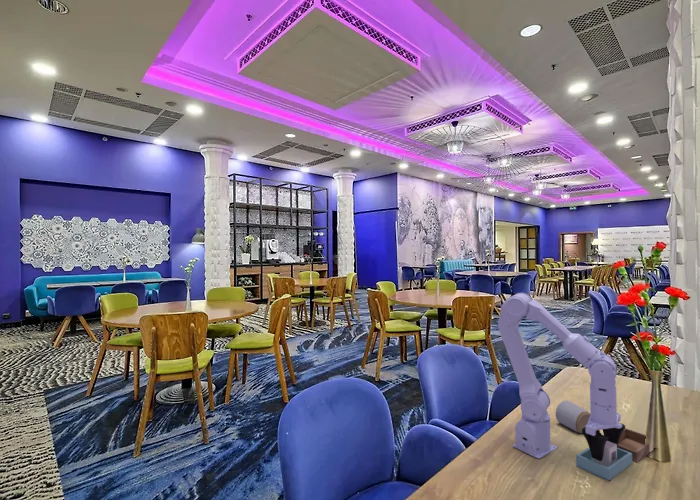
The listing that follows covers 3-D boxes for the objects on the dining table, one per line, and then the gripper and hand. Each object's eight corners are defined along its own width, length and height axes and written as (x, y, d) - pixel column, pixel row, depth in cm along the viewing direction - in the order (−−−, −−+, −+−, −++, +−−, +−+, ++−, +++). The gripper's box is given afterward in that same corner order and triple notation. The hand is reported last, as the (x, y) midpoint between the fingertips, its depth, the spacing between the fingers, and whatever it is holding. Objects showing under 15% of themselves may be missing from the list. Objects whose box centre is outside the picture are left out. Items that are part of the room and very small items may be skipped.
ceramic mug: (577, 437, 112) (577, 411, 112) (554, 425, 120) (554, 401, 120) (603, 431, 115) (603, 407, 115) (579, 420, 123) (579, 397, 123)
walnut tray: (636, 464, 98) (636, 452, 98) (604, 450, 104) (604, 440, 104) (656, 449, 104) (656, 438, 104) (624, 437, 111) (624, 427, 111)
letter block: (610, 471, 94) (610, 449, 94) (592, 463, 98) (592, 442, 98) (618, 465, 96) (617, 444, 96) (600, 458, 100) (599, 437, 100)
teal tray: (609, 481, 91) (609, 469, 91) (576, 466, 97) (576, 454, 97) (632, 464, 97) (632, 453, 97) (600, 451, 104) (599, 440, 104)
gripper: (607, 415, 90) (608, 471, 90) (633, 401, 98) (634, 452, 98) (576, 405, 96) (577, 457, 96) (603, 392, 104) (604, 441, 104)
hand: (604, 454), depth 97 cm, fingers open, 7 cm apart
